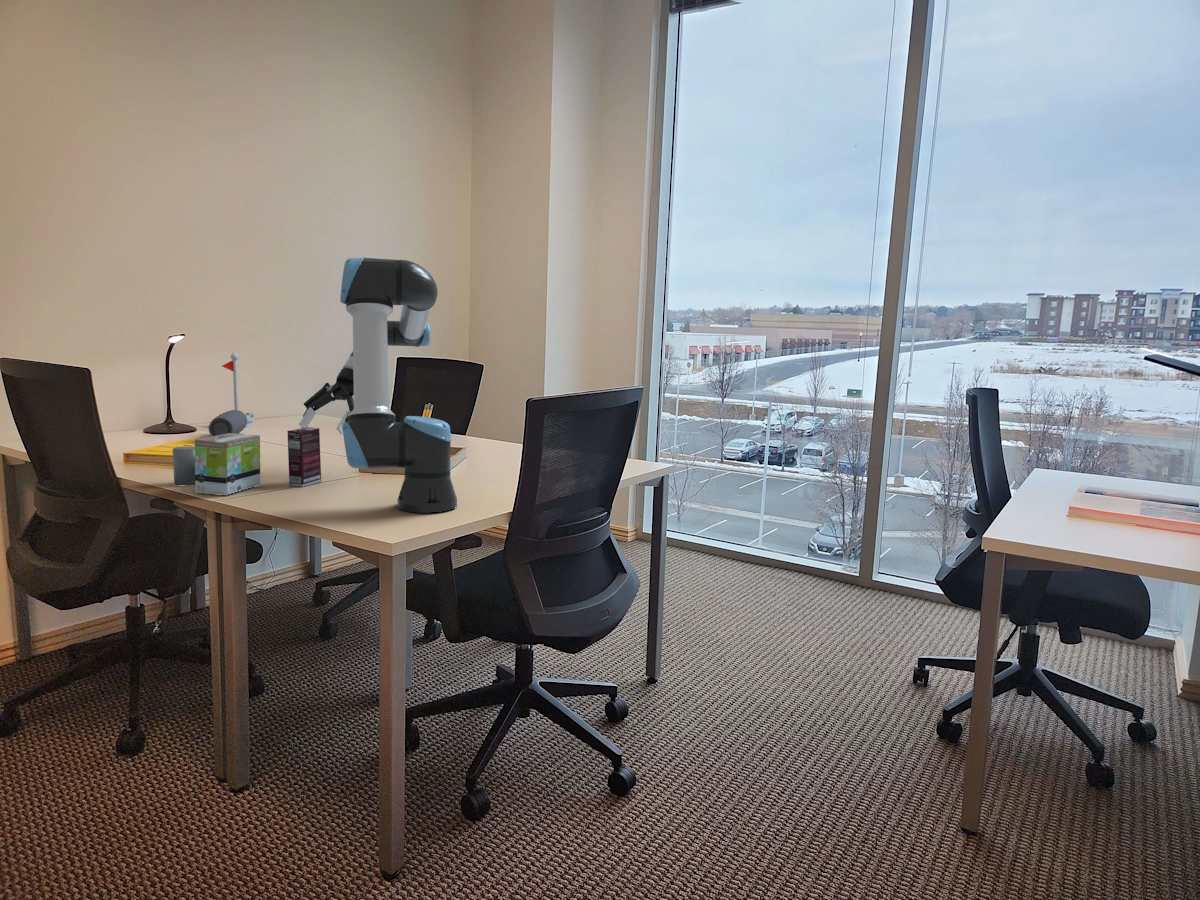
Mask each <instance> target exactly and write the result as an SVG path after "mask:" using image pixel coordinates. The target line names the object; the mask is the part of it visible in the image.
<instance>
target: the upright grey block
mask: <svg viewBox="0 0 1200 900" xmlns="http://www.w3.org/2000/svg"><path fill="white" fill-rule="evenodd" d="M172 463H173V464H172V465H173V483H174V484H176V485H175V486H177V485H185V486H184V487H187V486H186V485H194V486H195V480H196V479H195V445H194V446H192V445H188V446H187V445H185V446H184V445H183V446H178V447H177V446H176V447H173V448H172Z"/></svg>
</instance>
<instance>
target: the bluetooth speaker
mask: <svg viewBox="0 0 1200 900" xmlns="http://www.w3.org/2000/svg"><path fill="white" fill-rule="evenodd" d="M220 414H221V415H219V414H218V416H216V417H214V418H213V419H212V420H211V421H210V423H209V424H208V432H209V434H210V437H211V436H217V435H222V434H227V433H237V434H241V433H242V432H243V430H244V428H245V427H246V425H247V417H246V413H244V412H243V411H242V410H235V409H231V410H227V411H226V412H223V413H220Z"/></svg>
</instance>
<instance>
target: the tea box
mask: <svg viewBox="0 0 1200 900" xmlns="http://www.w3.org/2000/svg"><path fill="white" fill-rule="evenodd" d="M194 446H195V479H196V480H195V485H194V486H195V488H194V489H195V490H194V491H195V493H196V494H201V493H206V494H205V495H210V494H222V495H228V494H230V495H232V494H231V493H233V494H235V492H236V493H238V491H239V492H242V491H241V490H243V491H246V490H249V489H248V488H250V489H253V488H252V487H254V488H256V487H255V486H258V485H260V486H261V435H259V434H246V433H239V434H237V433H227V434H222V435H217V436H211V435H210V436H207V437H200V438H197V439H194ZM258 487H259V486H258ZM245 489H246V490H245ZM228 496H229V495H228Z"/></svg>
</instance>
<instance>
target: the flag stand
mask: <svg viewBox="0 0 1200 900" xmlns="http://www.w3.org/2000/svg"><path fill="white" fill-rule="evenodd" d="M239 358H240V357H239V354H238V353H236V352H233V353H231V355H230V359H231V361H228V362H227V363H224V364H223V365H221V367H222V368H225V369H227V370H229V371H231V372H233V373H232V376H233V377H232V378H233V379H232V380H233V404H234V410H239V387H238V386H239V385H238V384H239V382H238V360H239ZM239 411H240V410H239ZM221 414H222V413H219V414H218V416H219V415H221ZM245 415H246V417H247V425H246V427H245V428H247V429H251V428H253V427H252V425H253V424H252V423H253V422H254V421H255V413H252V412H246V413H245ZM250 427H251V428H250Z"/></svg>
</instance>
